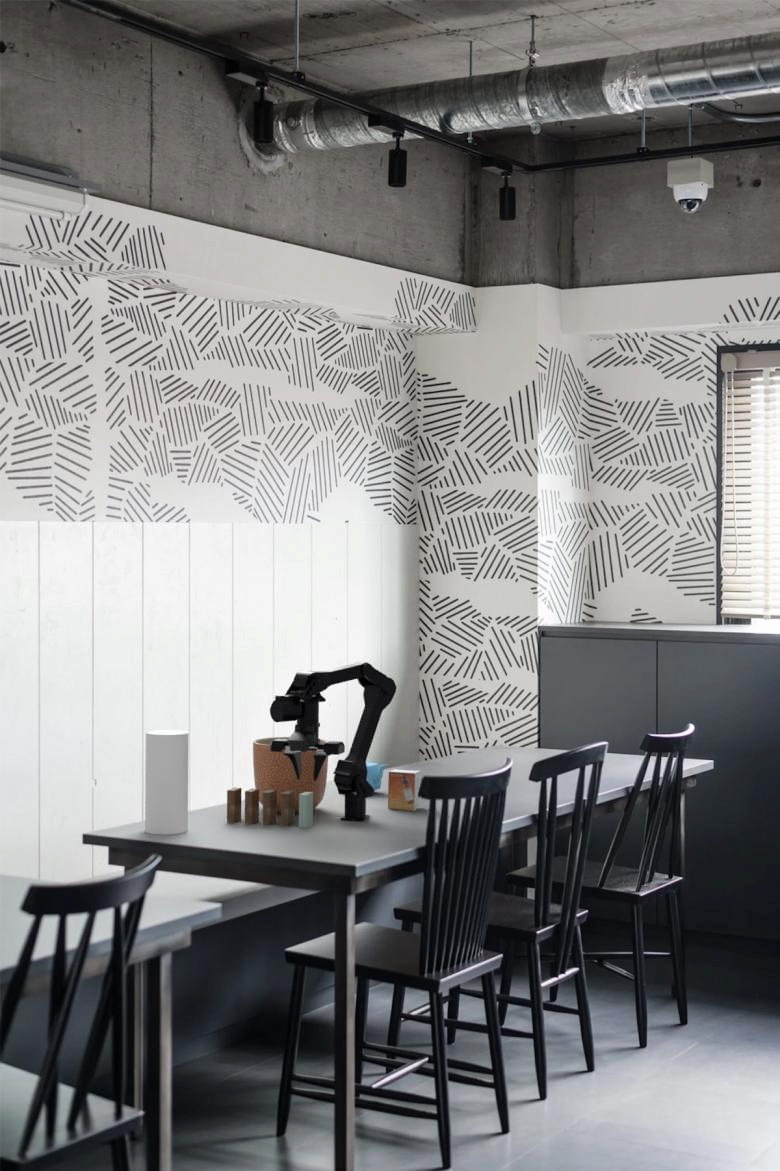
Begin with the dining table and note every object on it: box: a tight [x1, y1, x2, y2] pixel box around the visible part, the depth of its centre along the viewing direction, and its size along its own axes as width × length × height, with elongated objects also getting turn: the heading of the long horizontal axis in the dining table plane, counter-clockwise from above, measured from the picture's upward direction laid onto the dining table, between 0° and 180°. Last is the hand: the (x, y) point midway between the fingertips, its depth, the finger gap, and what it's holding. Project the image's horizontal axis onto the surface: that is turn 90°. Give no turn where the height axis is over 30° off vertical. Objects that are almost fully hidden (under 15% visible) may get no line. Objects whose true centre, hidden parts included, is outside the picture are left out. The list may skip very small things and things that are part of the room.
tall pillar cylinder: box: [144, 729, 189, 836], centre depth 362 cm, size 11×11×25 cm
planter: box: [252, 736, 329, 814], centre depth 395 cm, size 21×21×19 cm
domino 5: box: [298, 792, 314, 829], centre depth 371 cm, size 2×5×8 cm, turn 164°
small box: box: [387, 768, 422, 811], centre depth 399 cm, size 8×6×10 cm
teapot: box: [334, 762, 388, 794], centre depth 426 cm, size 18×14×10 cm
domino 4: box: [280, 791, 296, 827], centre depth 373 cm, size 2×5×8 cm, turn 164°
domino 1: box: [226, 787, 242, 824], centre depth 377 cm, size 2×5×8 cm, turn 164°
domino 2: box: [244, 788, 260, 825], centre depth 375 cm, size 2×5×8 cm, turn 164°
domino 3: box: [262, 790, 278, 826], centre depth 374 cm, size 2×5×8 cm, turn 164°
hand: (307, 779), depth 371 cm, fingers open, 4 cm apart
